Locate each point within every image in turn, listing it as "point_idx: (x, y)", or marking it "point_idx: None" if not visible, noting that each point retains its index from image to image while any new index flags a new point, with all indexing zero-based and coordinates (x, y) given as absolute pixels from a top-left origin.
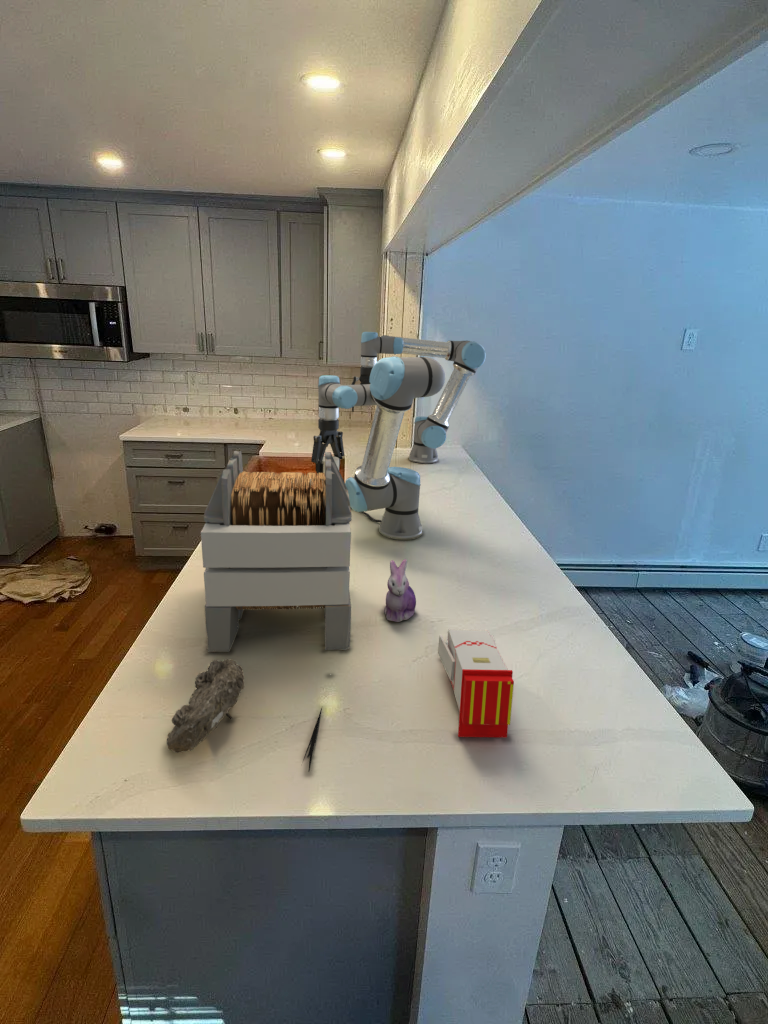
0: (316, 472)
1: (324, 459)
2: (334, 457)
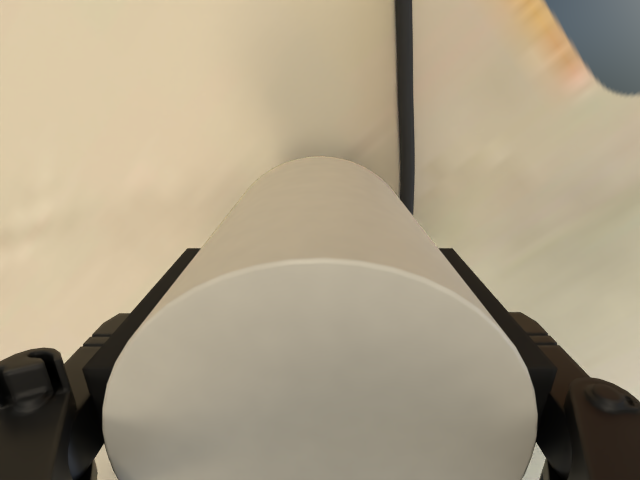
0: (156, 285)
1: (219, 455)
2: (463, 476)
